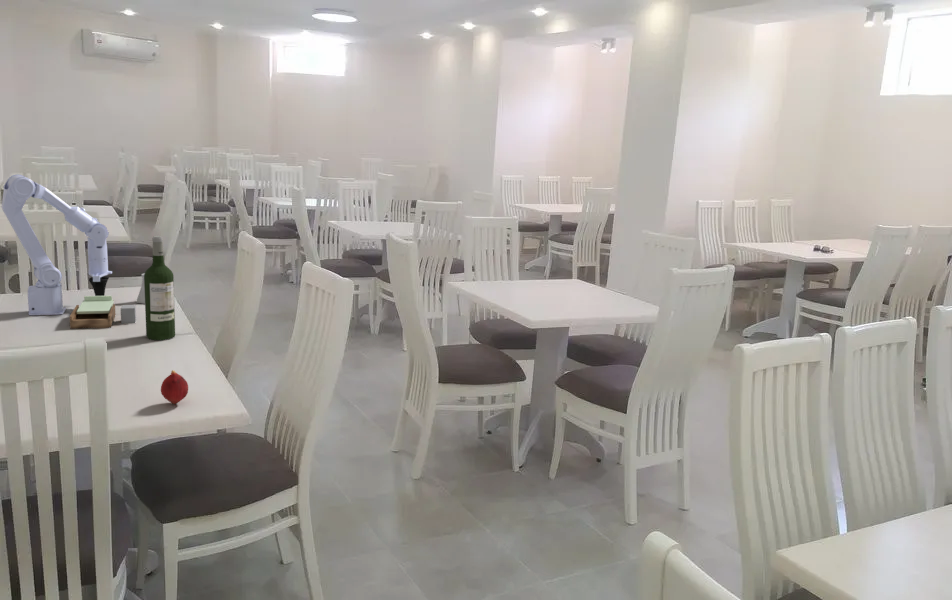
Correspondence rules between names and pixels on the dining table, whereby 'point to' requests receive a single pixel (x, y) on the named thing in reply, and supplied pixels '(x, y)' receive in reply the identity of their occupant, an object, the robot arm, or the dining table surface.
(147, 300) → the wine bottle
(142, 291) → the flask
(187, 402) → the dining table surface
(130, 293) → the dining table surface
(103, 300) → the sage lid
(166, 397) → the onion
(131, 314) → the block
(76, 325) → the walnut box
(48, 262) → the robot arm
